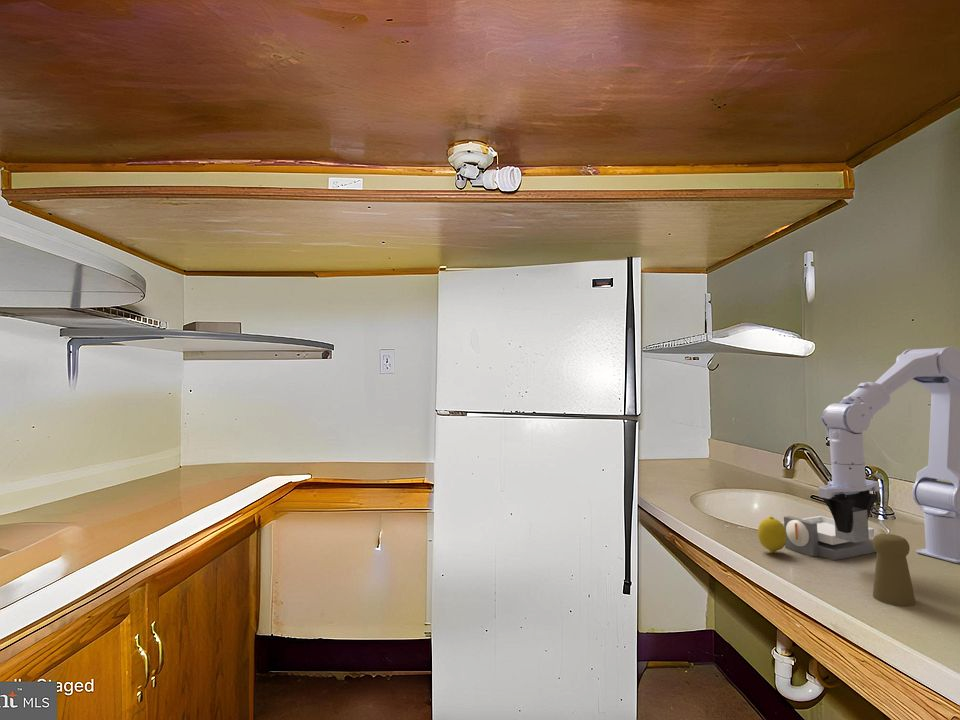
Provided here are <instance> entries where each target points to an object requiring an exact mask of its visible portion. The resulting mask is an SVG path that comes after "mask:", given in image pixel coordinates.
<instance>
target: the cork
mask: <svg viewBox="0 0 960 720" xmlns="http://www.w3.org/2000/svg"><path fill="white" fill-rule="evenodd" d="M872 540H873V547H874V550H875V551H876V552H875V553H876V557H875V558H876V561H875V569H874V571H875V572H874V579H873V590H872V598H874V599H875V600H876V601H879V602H881V603H885V604H886V605H892V606H898V607H911V606H915V605H916V604H917V601H916V597H915V592H914V587H913V583H912V578H911V573H910V569H909V564H908V561H907V556H908V555H909V553H910V551H911V550H910V544H909V542H908V541H907V539H906V538H905V537H903V536H900V535H896V534H894V533H893V534H891V533H878V534H876V535H874V537H872Z"/></svg>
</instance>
